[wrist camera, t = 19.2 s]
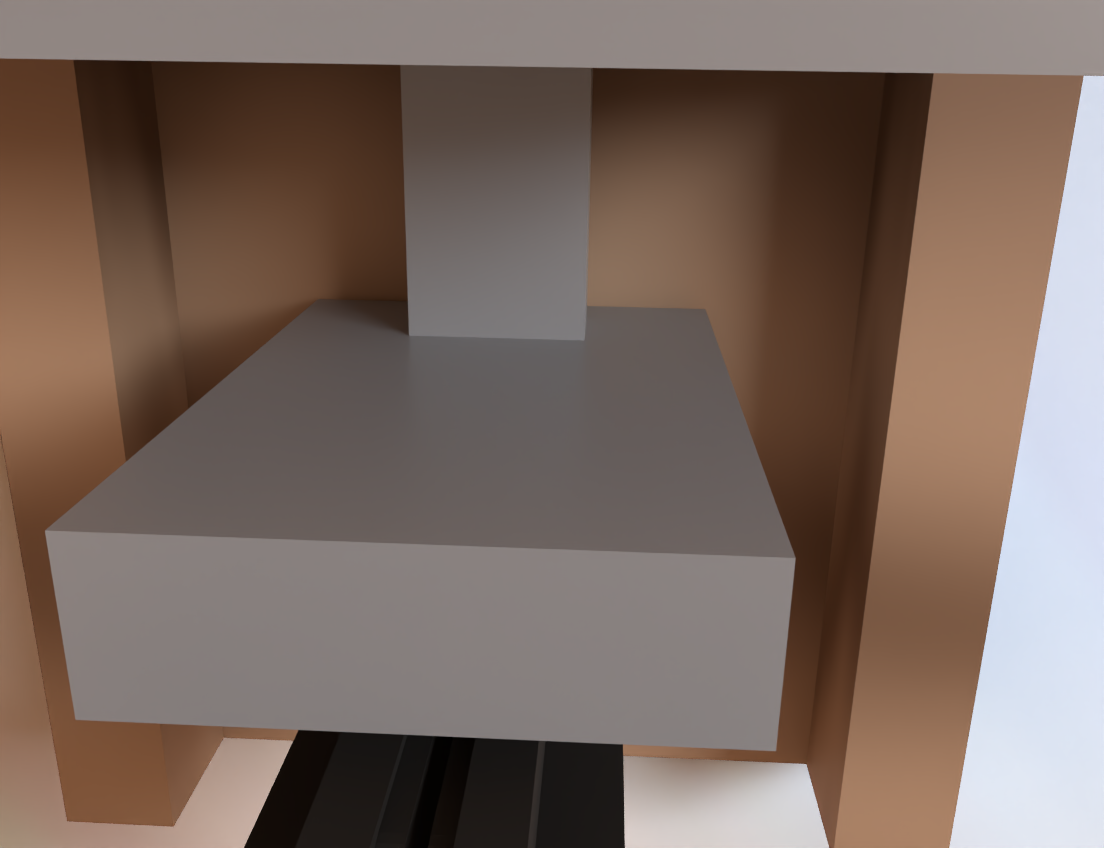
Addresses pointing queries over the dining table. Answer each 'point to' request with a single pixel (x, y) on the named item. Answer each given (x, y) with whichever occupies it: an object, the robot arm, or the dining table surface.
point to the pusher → (474, 403)
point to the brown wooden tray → (613, 281)
